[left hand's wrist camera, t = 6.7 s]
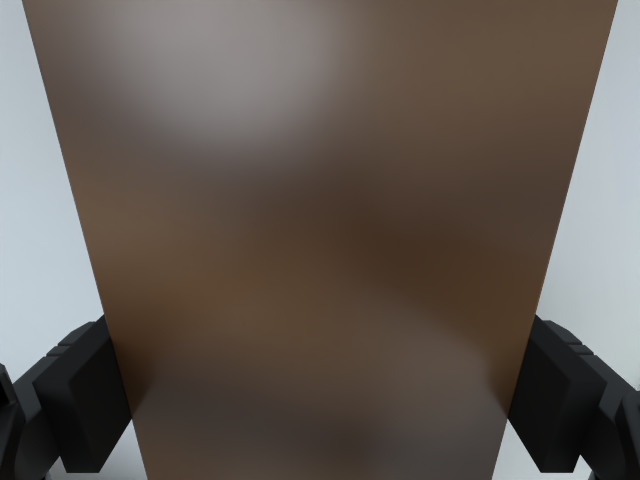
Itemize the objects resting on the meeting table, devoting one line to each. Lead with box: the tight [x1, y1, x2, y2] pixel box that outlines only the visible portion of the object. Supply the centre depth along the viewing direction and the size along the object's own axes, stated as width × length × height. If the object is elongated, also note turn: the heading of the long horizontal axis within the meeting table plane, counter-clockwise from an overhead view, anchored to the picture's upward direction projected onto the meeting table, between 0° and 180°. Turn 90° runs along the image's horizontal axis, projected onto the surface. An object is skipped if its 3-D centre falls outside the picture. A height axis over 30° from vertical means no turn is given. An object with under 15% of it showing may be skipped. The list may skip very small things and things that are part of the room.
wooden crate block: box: [22, 0, 618, 480], centre depth 11 cm, size 20×10×9 cm, turn 0°
